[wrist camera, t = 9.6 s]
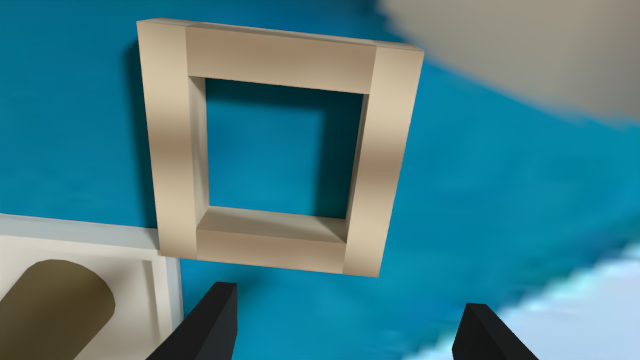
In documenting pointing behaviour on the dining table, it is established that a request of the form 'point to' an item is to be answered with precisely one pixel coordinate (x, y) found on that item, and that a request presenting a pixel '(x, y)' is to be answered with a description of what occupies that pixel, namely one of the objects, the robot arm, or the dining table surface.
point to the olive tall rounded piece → (53, 311)
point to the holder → (280, 69)
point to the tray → (104, 277)
